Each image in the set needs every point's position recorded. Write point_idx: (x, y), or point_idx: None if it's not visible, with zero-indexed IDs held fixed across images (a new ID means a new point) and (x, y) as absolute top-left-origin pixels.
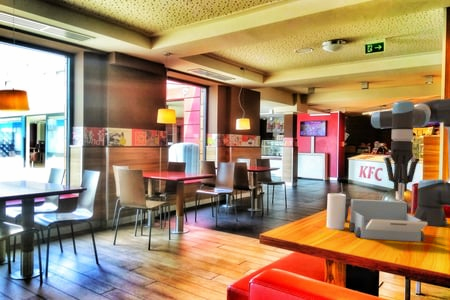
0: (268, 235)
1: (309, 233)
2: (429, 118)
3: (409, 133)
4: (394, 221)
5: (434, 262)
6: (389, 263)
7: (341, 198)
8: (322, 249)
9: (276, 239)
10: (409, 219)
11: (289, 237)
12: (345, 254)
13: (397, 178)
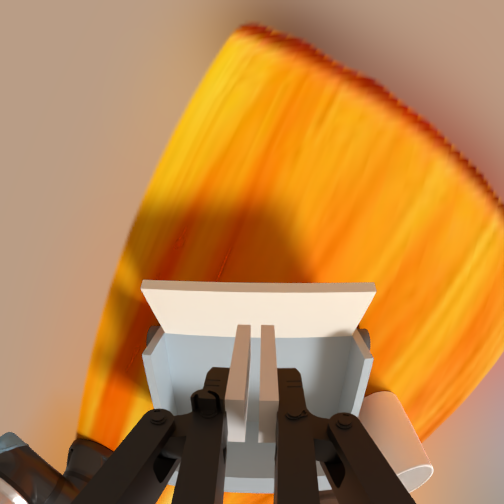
0: None
1: (469, 327)
2: None
3: None
4: (279, 286)
5: (218, 103)
6: (356, 76)
7: (402, 463)
8: (484, 180)
9: None
10: (166, 405)
11: None
12: (446, 142)
13: (296, 440)
